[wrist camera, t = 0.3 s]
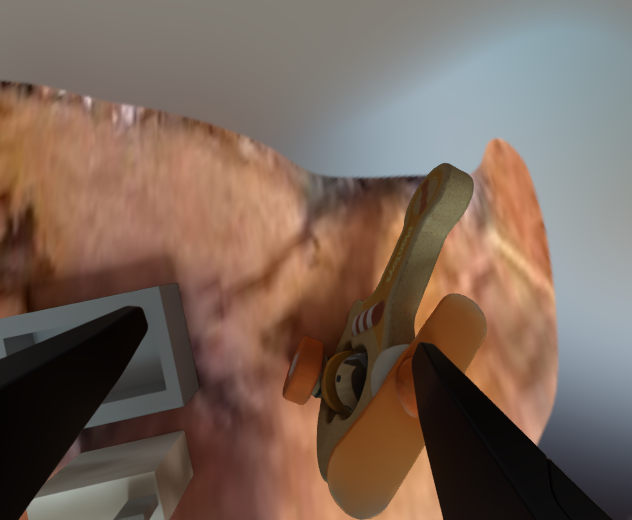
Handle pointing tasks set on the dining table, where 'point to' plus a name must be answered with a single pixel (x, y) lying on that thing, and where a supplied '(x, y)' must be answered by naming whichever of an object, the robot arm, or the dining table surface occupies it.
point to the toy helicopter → (387, 358)
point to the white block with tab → (119, 482)
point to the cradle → (146, 364)
